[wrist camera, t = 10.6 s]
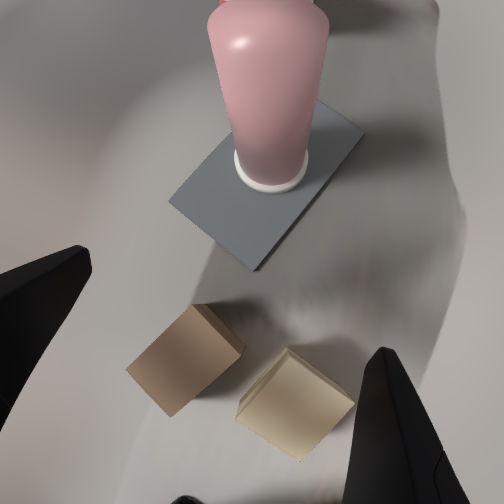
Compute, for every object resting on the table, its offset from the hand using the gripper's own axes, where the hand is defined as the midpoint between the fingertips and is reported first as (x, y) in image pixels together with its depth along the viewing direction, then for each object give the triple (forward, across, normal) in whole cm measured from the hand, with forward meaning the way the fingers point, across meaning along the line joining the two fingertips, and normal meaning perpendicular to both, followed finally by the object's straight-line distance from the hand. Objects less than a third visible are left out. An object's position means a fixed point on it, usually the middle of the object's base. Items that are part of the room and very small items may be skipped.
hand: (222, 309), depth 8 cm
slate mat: (+16, +2, +2) cm, 16 cm away
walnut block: (+6, +2, +12) cm, 14 cm away
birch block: (+6, -5, +13) cm, 15 cm away
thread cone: (+16, +2, +1) cm, 16 cm away
